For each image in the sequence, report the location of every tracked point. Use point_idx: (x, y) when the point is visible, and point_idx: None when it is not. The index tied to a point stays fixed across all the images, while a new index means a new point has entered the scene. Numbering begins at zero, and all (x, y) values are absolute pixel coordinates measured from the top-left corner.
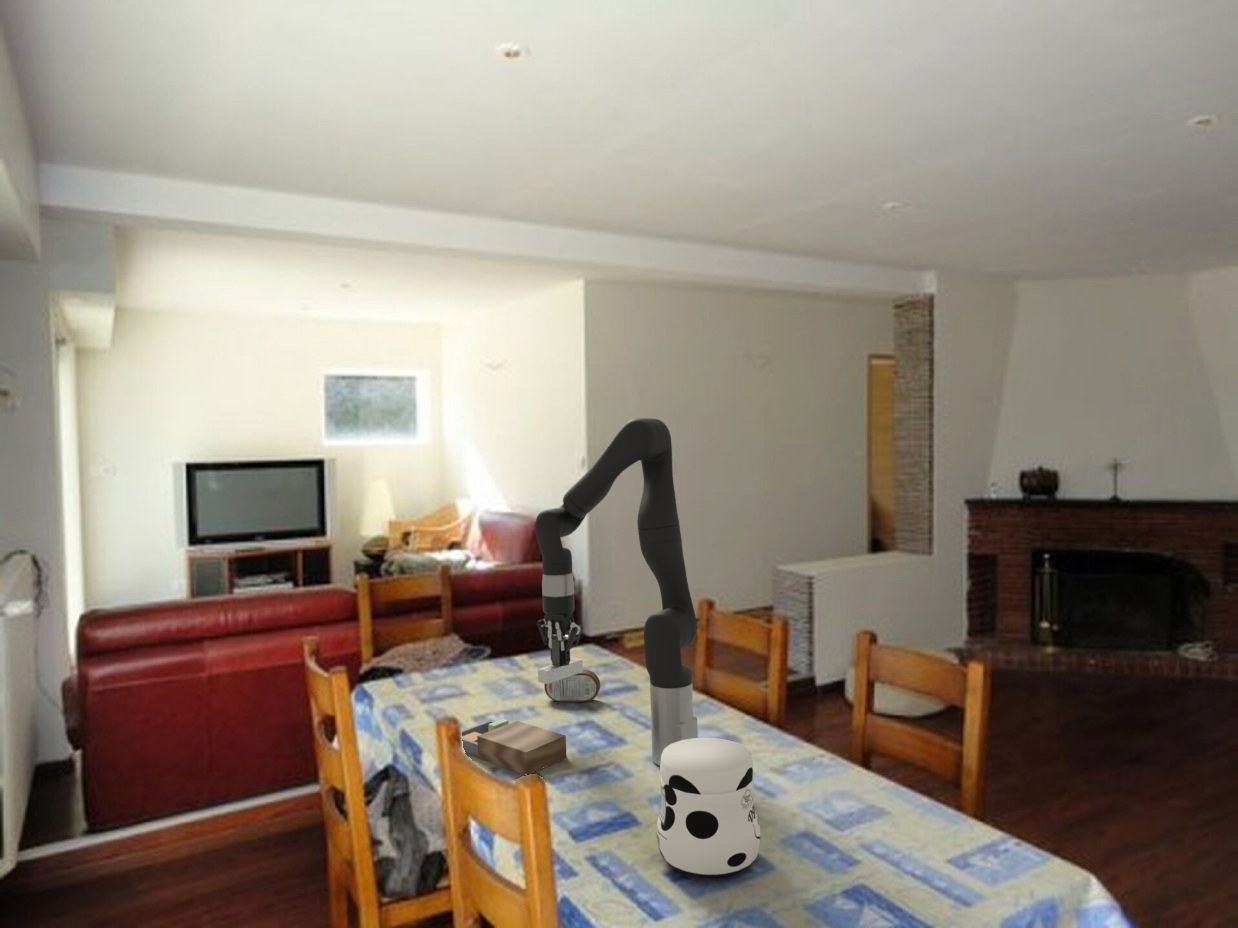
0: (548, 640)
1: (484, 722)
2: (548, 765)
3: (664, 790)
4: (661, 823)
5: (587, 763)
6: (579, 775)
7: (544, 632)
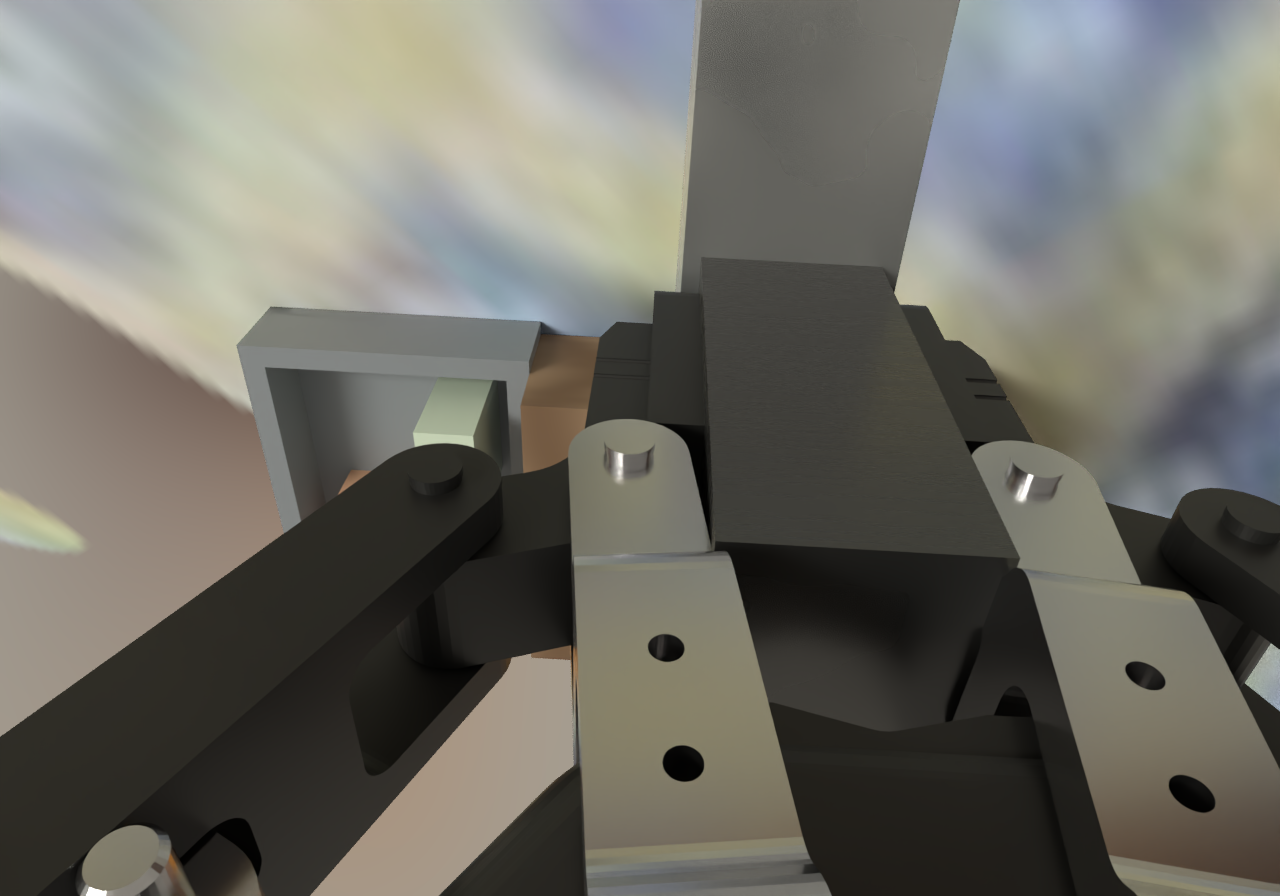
0: (510, 653)
1: (254, 399)
2: None
3: None
4: None
5: (1139, 357)
6: (1161, 484)
7: (350, 821)
